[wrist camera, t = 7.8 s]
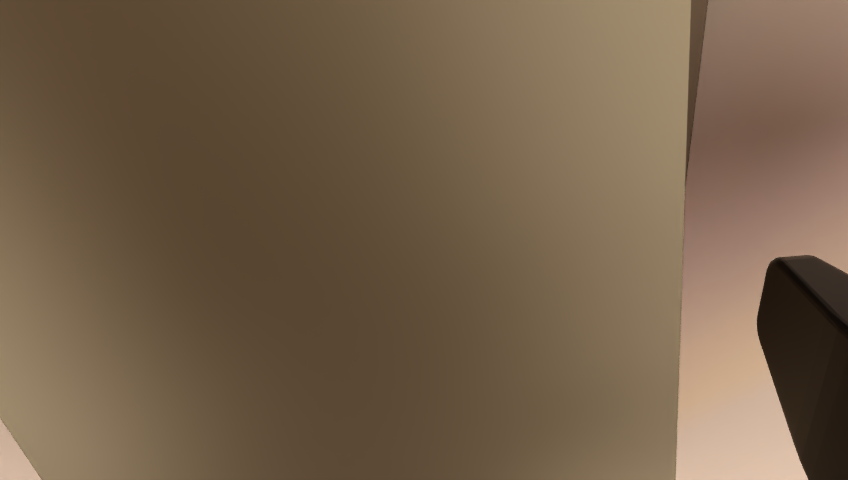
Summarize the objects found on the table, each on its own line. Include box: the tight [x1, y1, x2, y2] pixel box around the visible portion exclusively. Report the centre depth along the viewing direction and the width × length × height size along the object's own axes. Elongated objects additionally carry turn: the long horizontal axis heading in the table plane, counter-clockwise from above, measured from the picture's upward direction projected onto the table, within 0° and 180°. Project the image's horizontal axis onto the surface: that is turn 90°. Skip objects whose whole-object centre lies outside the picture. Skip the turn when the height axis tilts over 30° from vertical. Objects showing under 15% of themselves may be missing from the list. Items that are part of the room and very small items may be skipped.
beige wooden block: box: [0, 0, 691, 480], centre depth 9 cm, size 6×16×4 cm, turn 9°
